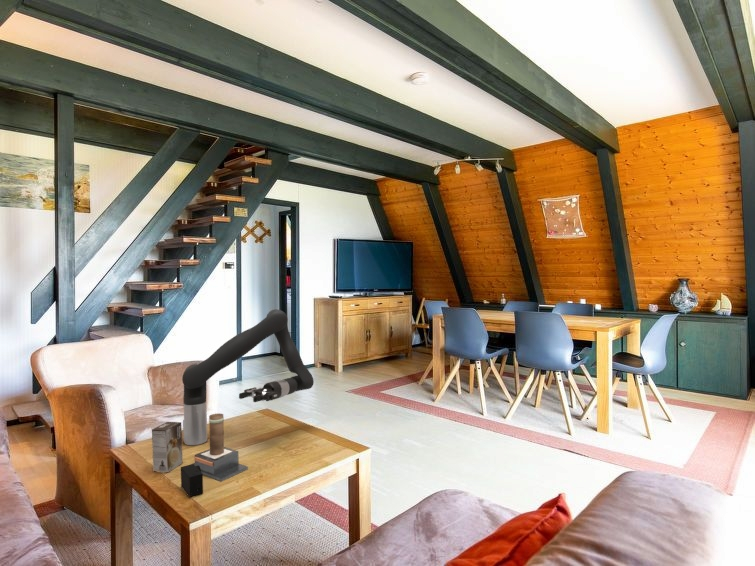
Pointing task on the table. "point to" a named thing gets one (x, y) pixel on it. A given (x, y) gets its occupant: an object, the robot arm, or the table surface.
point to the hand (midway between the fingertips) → (246, 398)
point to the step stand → (219, 464)
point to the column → (216, 434)
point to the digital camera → (192, 480)
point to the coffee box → (167, 446)
